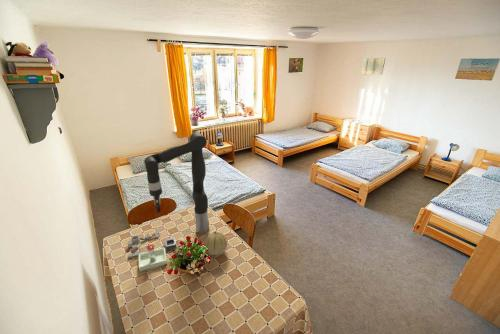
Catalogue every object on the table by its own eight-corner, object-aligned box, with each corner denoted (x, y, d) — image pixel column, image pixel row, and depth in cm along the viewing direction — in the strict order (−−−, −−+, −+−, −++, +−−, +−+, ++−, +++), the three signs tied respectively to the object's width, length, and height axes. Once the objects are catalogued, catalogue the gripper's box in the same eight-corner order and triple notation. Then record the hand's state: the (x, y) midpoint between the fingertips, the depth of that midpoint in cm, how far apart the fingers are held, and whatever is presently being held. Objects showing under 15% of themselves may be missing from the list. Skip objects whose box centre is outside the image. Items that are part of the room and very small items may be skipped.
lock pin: (156, 256, 158) (153, 243, 153) (156, 261, 154) (154, 248, 150) (149, 258, 156) (146, 245, 151) (149, 263, 153) (147, 250, 148)
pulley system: (116, 254, 160) (134, 260, 155) (115, 249, 159) (132, 255, 153) (147, 230, 184) (163, 235, 179) (146, 225, 182) (162, 229, 177)
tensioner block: (175, 240, 172) (175, 237, 171) (176, 247, 166) (176, 244, 165) (165, 243, 170) (164, 240, 168) (166, 250, 164) (165, 246, 163)
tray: (165, 250, 163) (164, 247, 162) (167, 264, 153) (166, 260, 152) (139, 257, 158) (138, 253, 156) (139, 271, 148) (138, 267, 146)
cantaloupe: (212, 263, 154) (210, 245, 148) (201, 249, 165) (200, 232, 158) (231, 253, 162) (231, 236, 156) (220, 241, 173) (220, 224, 166)
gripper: (162, 191, 148) (165, 213, 155) (160, 181, 160) (163, 201, 167) (149, 193, 145) (153, 215, 152) (148, 182, 157) (152, 203, 164)
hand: (158, 208), depth 159 cm, fingers open, 8 cm apart
